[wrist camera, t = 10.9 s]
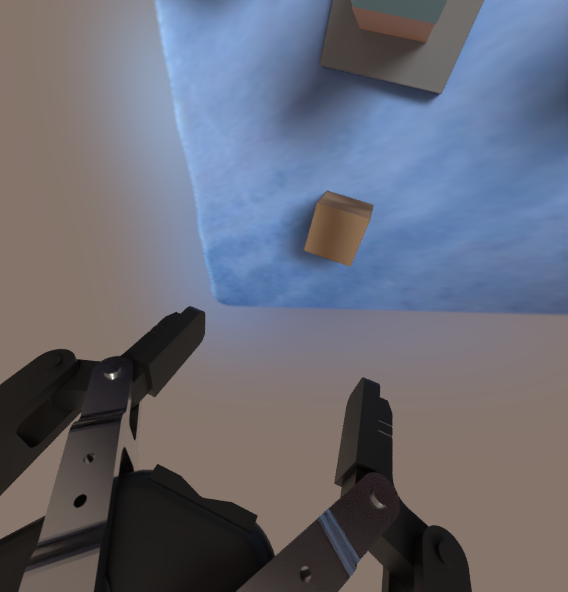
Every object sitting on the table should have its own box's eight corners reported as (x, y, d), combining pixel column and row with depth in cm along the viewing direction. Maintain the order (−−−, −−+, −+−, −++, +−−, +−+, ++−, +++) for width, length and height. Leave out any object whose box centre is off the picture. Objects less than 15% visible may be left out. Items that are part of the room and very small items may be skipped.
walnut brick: (373, 204, 27) (370, 219, 23) (355, 247, 30) (350, 266, 26) (327, 190, 28) (317, 202, 24) (315, 233, 31) (303, 250, 27)
